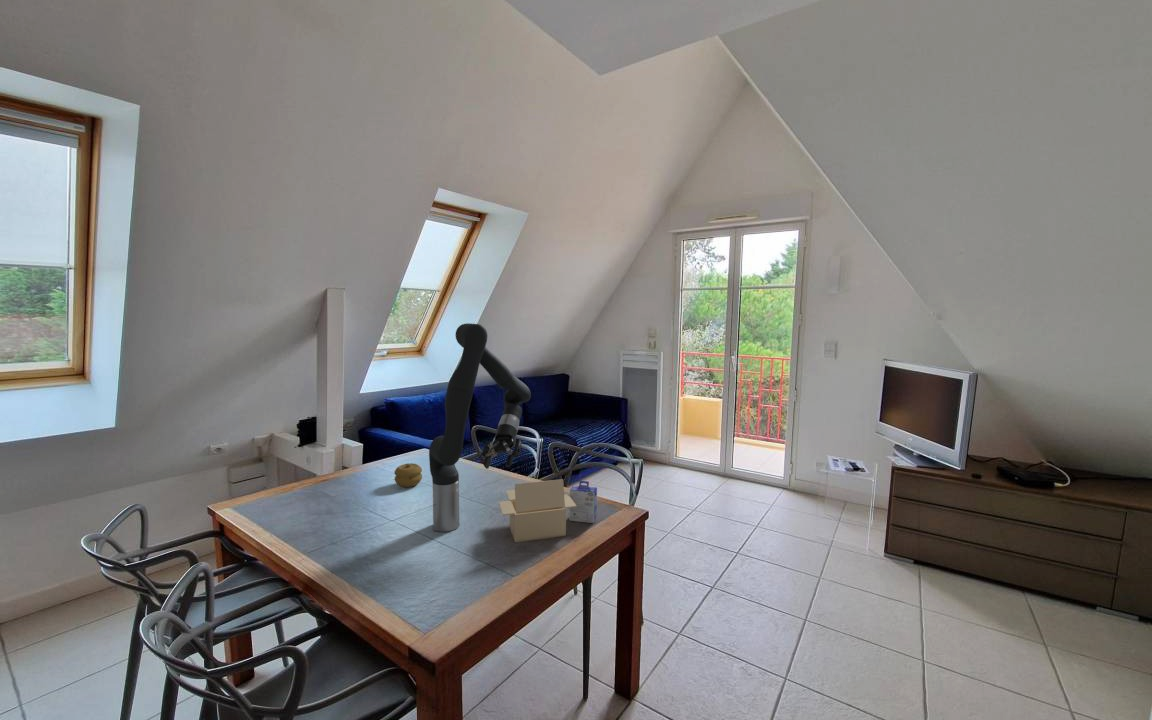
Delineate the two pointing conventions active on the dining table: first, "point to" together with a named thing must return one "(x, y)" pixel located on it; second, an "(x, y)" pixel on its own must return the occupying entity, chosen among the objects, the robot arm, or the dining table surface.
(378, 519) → the dining table surface
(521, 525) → the carton
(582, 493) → the ink cartridge box
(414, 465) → the stacked bagel
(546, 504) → the far flap
